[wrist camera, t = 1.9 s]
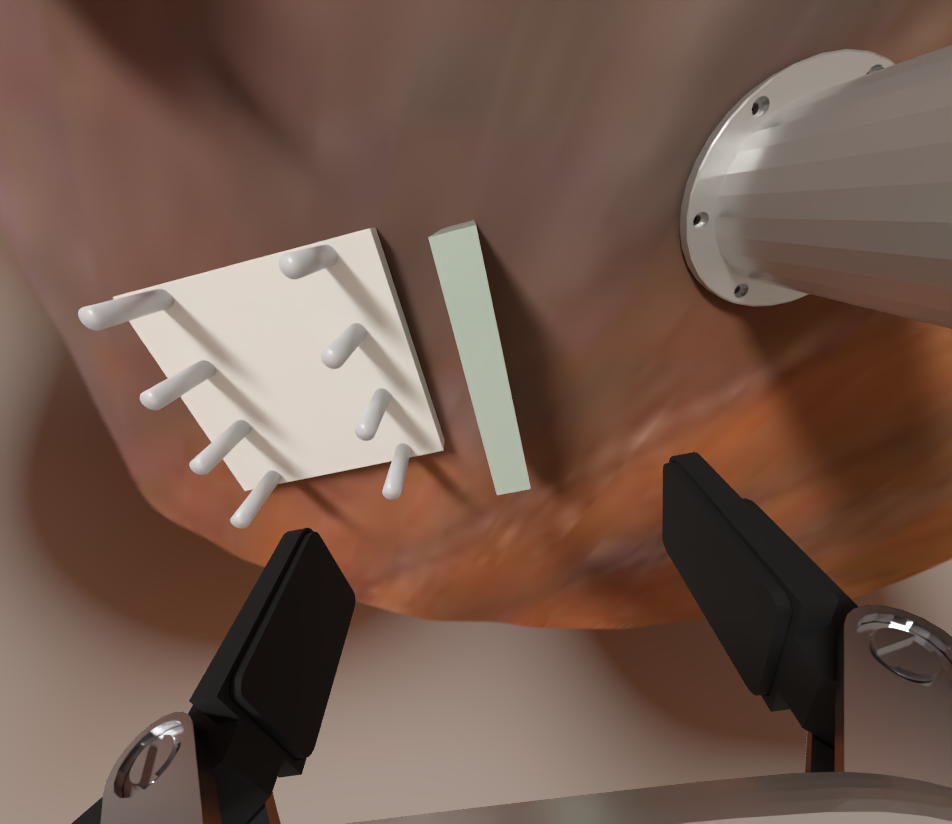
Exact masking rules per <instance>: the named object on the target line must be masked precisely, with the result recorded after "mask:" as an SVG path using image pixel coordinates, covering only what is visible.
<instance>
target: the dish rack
mask: <svg viewBox="0 0 952 824" xmlns="http://www.w3.org/2000/svg"><path fill="white" fill-rule="evenodd" d="M113 299H114V300H110V301H106V302H102V303H98V304H94V305H90V306H86V307H82V308H81V309H80V310H79V312H78V316H79V319H80V320H81V322H82V323H83V324H84V325H85V326H86V327H88V328H90V329H92V330H102V329H105V328H108V327H111V326H115V325H118V324H121V323H124V322H127V321H129V322H130V324H131V325H132V326H133V328H134V329H135V331H136V332H137V334H138V335H139V337H140V338H141V340H142V341H143V343H144V344H145V346H146V347H147V348H148V350H149V351H150V353H151V354H152V356H153V357H154V359H155V360H156V362H157V363H158V365H159V366H160V368H161V369H162V370H163V372H164V373H165V375H166V376H167V378H168V379H166V380H164V381H162V382H161V383H159V384H157V385H155V386H153V387H152V388H150V389H148V390H146V391H144V392H142V393H141V395H140V401H141V402H142V404H143V405H144V406H145V407H147V408H149V409H151V410H159V409H161V408H163V407H164V406H166V405H167V404H169V403H171V402H172V401H174V400H175V399H177V398H178V397H181V398H182V400H183V401H184V403H185V404H186V406H187V407H188V409H189V410H190V411H191V413H192V414H193V416H194V417H195V419H196V420H197V422H198V423H199V425H200V426H201V428H202V429H203V431H204V432H205V433H206V435H207V436H208V438H209V439H210V441H211V442H212V443H211V444H210V445H209V446H208V447H206V448H205V449H204V450H203V451H202V452H201V453H200V454H199V455H197V456H196V457H195V458H194V459H193V460H192V461H191V462H190V464H189V465H190V468H191V470H192V471H193V472H195V473H197V474H200V475H206V474H208V473H209V472H210V471H211V470H212V469H213V468H214V467H215V466H216V465H217V464H218V463H219V462H220V461H221V460H222V459H223V460H224V461H225V463H226V464H227V466H228V467H229V469H230V470H231V472H232V473H233V474H234V476H235V477H236V479H237V480H238V482H239V483H240V485H241V486H242V488H243V489H244V491H246V490H251V489H253V491H252V492H251V493H250V494H249V496H248V497H247V498H246V500H245V501H244V502H243V503H242V505H241V506H240V507H239V509H238V510H237V511H236V512H235V514H234V515H233V516H232V517H231V519H230V521H231V523H232V525H234V526H235V527H237V528H246V527H248V525H249V524H250V522H251V521H252V520H253V518H254V517H255V515H256V514H257V513H258V511H259V510H260V508H261V507H262V506H263V504H264V503H265V501H266V500H267V498H268V497H269V496H270V494H271V493H272V491H273V490H274V489H275V487H276V486H277V484H281V483H286V482H291V481H296V480H301V479H306V478H311V477H316V476H321V475H326V474H331V473H336V472H340V471H345V470H350V469H355V468H360V467H365V466H370V465H375V464H380V463H385V462H390V461H392V462H391V465H390V469H389V472H388V475H387V478H386V481H385V484H384V488H383V491H382V493H383V495H384V497H386V498H387V499H390V500H394V499H397V498H399V497H400V495H401V491H402V487H403V483H404V478H405V474H406V470H407V466H408V462H409V458H410V457H415V456H420V455H425V454H430V453H435V452H440V451H444V442H445V440H444V437H443V434H442V431H441V427H440V424H439V421H438V418H437V415H436V412H435V409H434V406H433V403H432V400H431V397H430V393H429V390H428V387H427V384H426V381H425V378H424V375H423V372H422V369H421V366H420V363H419V360H418V356H417V353H416V350H415V347H414V344H413V341H412V338H411V335H410V332H409V329H408V326H407V322H406V319H405V316H404V313H403V310H402V307H401V304H400V301H399V298H398V295H397V292H396V288H395V285H394V282H393V279H392V276H391V273H390V270H389V267H388V264H387V261H386V258H385V255H384V251H383V248H382V245H381V242H380V239H379V236H378V233H377V230H376V227H375V228H369V229H365V230H362V231H358V232H354V233H350V234H347V235H343V236H339V237H335V238H332V239H328V240H324V241H320V242H317V243H313V244H309V245H305V246H302V247H298V248H294V249H291V250H287V251H283V252H279V253H276V254H272V255H268V256H264V257H261V258H257V259H253V260H249V261H246V262H242V263H238V264H234V265H231V266H227V267H223V268H219V269H216V270H212V271H208V272H204V273H201V274H197V275H193V276H189V277H186V278H182V279H178V280H175V281H171V282H167V283H163V284H160V285H156V286H152V287H148V288H145V289H141V290H137V291H133V292H130V293H126V294H122V295H118V296H115V297H113Z"/></svg>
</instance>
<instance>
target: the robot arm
mask: <svg viewBox="0 0 952 824" xmlns="http://www.w3.org/2000/svg"><path fill="white" fill-rule="evenodd" d="M752 106H753V113H752ZM695 216H696V217H697V220H696V222H695V223H693V221H694V218H695ZM680 237H681V246H682V250H683V253H684V257H685V260H686V263H687V266H688V267H689V269H690V270H691V272H692V274H693V275H694V277H695V278H696V280H697V281H698V282H699V283H700V284H701V285H702V286H703V287H704V288H705V289H706V290H707V291H709V292H711V293H713V294H714V295H716V296H718V297H720V298H721V299H724V300H727V301H730V302H732V303H736V304H741V305H747V306H753V307H757V306H774V305H778V304H783V303H787V302H792V301H794V300H797V299H799V298H802V297H804V296H807V295H809V294H811V295H815V296H819V297H823V298H827V299H831V300H835V301H839V302H844V303H848V304H852V305H856V306H860V307H864V308H868V309H872V310H876V311H880V312H885V313H889V314H893V315H897V316H901V317H905V318H909V319H913V320H917V321H921V322H925V323H930V324H934V325H938V326H942V327H946V328H950V329H952V45H951V46H948V47H945V48H942V49H939V50H936V51H933V52H930V53H927V54H924V55H922V56H919V57H916V58H913V59H910V60H907V61H904V62H901V63H898V64H895V63H894V62H892V61H891V60H890V59H888V58H886V57H883V56H881V55H878V54H876V53H873V52H871V51H864V50H852V49H844V50H837V51H831V52H825V53H820V54H818V55H815V56H813V57H810V58H808V59H805V60H803V61H800V62H797V63H795V64H793V65H791V66H789V67H787V68H785V69H783V70H781V71H779V72H777V73H775V74H773V75H771V76H770V77H769V78H767V79H766V80H765V81H763V82H762V83H760V84H759V85H758V86H756V87H755V88H753V89H752V90H751V91H749V92H748V93H747V94H746V95H745V96H744V97H743V98H742V99H741V100H740V101H739V102H738V103H737V104H736V105H735V106H734V107H733V108H732V109H731V110H730V111H729V112H728V113H727V114H726V115H725V117H724V118H723V119H722V120H721V122H720V123H719V124H718V126H717V127H716V128H715V130H714V131H713V132H712V133H711V135H710V136H709V138H708V140H707V142H706V143H705V145H704V147H703V148H702V150H701V152H700V154H699V155H698V157H697V159H696V161H695V164H694V166H693V169H692V171H691V174H690V176H689V179H688V181H687V184H686V188H685V192H684V197H683V201H682V205H681V215H680ZM662 537H663V543H664V546H665V549H666V551H667V553H668V554H669V556H670V558H671V559H672V561H673V563H674V565H675V566H676V568H677V570H678V571H679V573H680V575H681V576H682V578H683V580H684V581H685V583H686V585H687V586H688V588H689V590H690V592H691V593H692V595H693V597H694V598H695V600H696V602H697V603H698V605H699V607H700V608H701V610H702V612H703V613H704V615H705V617H706V619H707V620H708V622H709V624H710V625H711V627H712V629H713V630H714V632H715V634H716V635H717V637H718V639H719V640H720V642H721V644H722V646H723V647H724V649H725V651H726V652H727V654H728V656H729V657H730V659H731V661H732V662H733V664H734V666H735V667H736V669H737V671H738V673H739V674H740V676H741V677H742V679H743V681H744V683H745V684H746V686H747V687H748V689H749V690H750V691H751V692H752V693H753V694H754V695H761V696H762V698H763V699H764V701H765V703H766V704H767V706H768V707H769V709H770V711H771V712H772V711H779V710H787V709H791V711H792V712H793V714H794V715H795V717H796V718H797V720H798V722H799V723H800V725H801V726H802V728H804V729H805V730H807V744H806V761H805V773H789V774H778V775H768V776H757V777H746V778H736V779H725V780H714V781H704V782H694V783H685V784H676V785H667V786H658V787H650V788H641V789H632V790H623V791H615V792H606V793H598V794H588V795H580V796H571V797H563V798H554V799H546V800H537V801H529V802H520V803H512V804H504V805H496V806H488V807H479V808H470V809H462V810H454V811H446V812H437V813H429V814H421V815H413V816H405V817H396V818H389V819H380V820H372V821H364V822H356V823H349V824H952V637H951V636H950V635H949V634H948V633H946V632H945V631H944V630H942V629H941V628H939V627H937V626H935V625H933V624H932V623H930V622H929V621H927V620H925V619H923V618H921V617H918V616H916V615H914V614H911V613H909V612H906V611H904V610H900V609H896V608H892V607H888V606H880V605H865V606H861V607H858V606H857V605H856V604H855V603H854V602H853V601H852V600H851V599H850V598H849V597H848V596H847V595H846V594H845V593H844V592H843V591H842V590H841V589H840V588H839V587H838V586H837V585H836V584H835V583H834V582H833V581H832V580H831V579H830V578H829V577H828V576H827V575H826V574H825V573H824V572H823V571H822V570H821V569H820V568H819V567H818V566H817V565H816V564H815V563H814V562H813V561H812V560H811V559H810V558H809V557H808V556H807V555H806V554H805V553H804V552H803V551H802V550H801V549H800V548H799V547H798V546H797V545H796V544H795V543H794V542H793V541H792V540H791V539H790V538H789V537H788V536H787V535H786V534H785V533H784V532H783V531H782V530H781V529H780V528H779V527H778V526H777V525H776V524H775V523H774V522H773V521H772V520H771V519H770V518H769V517H768V516H767V515H766V514H765V513H764V512H763V511H762V510H761V509H760V508H759V507H758V506H757V505H756V504H755V503H754V502H752V501H751V500H749V499H742V498H741V497H740V496H739V495H738V494H737V493H736V492H735V491H734V490H733V489H732V488H731V487H730V486H729V485H728V484H727V483H726V482H725V481H724V480H723V479H722V478H721V476H720V475H719V474H718V473H717V472H716V471H715V470H714V469H713V468H712V467H711V466H710V465H709V464H708V463H707V462H706V461H705V460H704V459H703V458H702V457H701V456H700V455H699V454H698V453H696V452H692V453H687V454H682V455H677V456H672V457H671V458H670V460H669V463H666V464H664V466H663V534H662ZM354 607H355V594H354V592H353V590H352V588H351V587H350V585H349V583H348V582H347V580H346V578H345V577H344V575H343V573H342V572H341V570H340V568H339V567H338V565H337V563H336V562H335V560H334V558H333V557H332V555H331V553H330V552H329V550H328V548H327V547H326V545H325V543H324V542H323V540H322V538H321V537H320V535H319V534H318V533H317V532H313V531H312V529H310V528H304V529H299V530H294V531H288V532H287V533H285V534H284V535H283V537H282V539H281V540H280V542H279V544H278V546H277V547H276V549H275V551H274V553H273V554H272V556H271V558H270V560H269V561H268V563H267V565H266V567H265V568H264V570H263V572H262V574H261V576H260V577H259V579H258V581H257V583H256V584H255V586H254V588H253V590H252V591H251V593H250V595H249V597H248V598H247V600H246V602H245V604H244V606H243V607H242V609H241V611H240V612H239V614H238V616H237V618H236V620H235V621H234V623H233V625H232V627H231V628H230V630H229V632H228V634H227V635H226V637H225V639H224V641H223V642H222V644H221V646H220V648H219V649H218V651H217V653H216V655H215V656H214V658H213V660H212V662H211V663H210V665H209V667H208V669H207V671H206V672H205V674H204V676H203V677H202V679H201V681H200V683H199V684H198V686H197V688H196V690H195V691H194V693H193V695H192V697H191V699H190V700H189V701H190V702H191V703H192V704H193V706H192V708H191V709H190V711H189V713H188V714H187V713H185V712H173V713H171V714H168V715H165V716H163V717H161V718H160V719H158V720H156V721H155V722H153V723H152V724H150V725H149V726H148V727H147V728H146V729H145V730H143V731H142V732H141V733H140V734H139V735H138V736H137V737H136V738H135V739H134V740H133V741H132V742H131V743H130V744H129V746H128V747H127V748H126V749H125V750H124V751H123V753H122V754H121V756H120V757H119V759H118V760H117V762H116V763H115V765H114V766H113V768H112V771H111V772H110V775H109V777H108V779H107V781H106V785H105V789H104V793H103V797H102V798H101V799H100V800H98V801H97V802H96V803H95V804H94V805H93V806H91V807H90V808H89V809H88V810H87V811H86V812H84V813H83V814H82V815H81V816H80V817H79V818H77V819H76V820H75V821H74V822H73V823H72V824H281V823H280V819H279V816H278V812H277V808H276V804H275V800H274V796H273V792H272V791H273V788H274V785H275V782H276V779H277V776H278V777H285V776H294V775H301V774H302V771H303V768H304V765H305V761H306V758H307V757H309V756H310V755H311V754H312V751H313V750H314V747H315V744H316V741H317V737H318V733H319V730H320V727H321V723H322V719H323V716H324V712H325V709H326V706H327V702H328V699H329V695H330V691H331V688H332V684H333V681H334V678H335V674H336V671H337V667H338V664H339V660H340V656H341V653H342V649H343V646H344V642H345V639H346V635H347V632H348V628H349V625H350V621H351V617H352V614H353V611H354Z"/></svg>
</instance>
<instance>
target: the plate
mask: <svg viewBox="0 0 952 824" xmlns="http://www.w3.org/2000/svg"><path fill="white" fill-rule="evenodd" d="M428 238H429V242H430V246H431V249H432V253H433V257H434V261H435V264H436V268H437V272H438V276H439V279H440V283H441V287H442V291H443V294H444V298H445V302H446V306H447V309H448V313H449V317H450V321H451V324H452V328H453V332H454V336H455V339H456V343H457V347H458V351H459V354H460V358H461V362H462V366H463V369H464V373H465V377H466V381H467V384H468V388H469V392H470V396H471V400H472V403H473V407H474V411H475V415H476V418H477V422H478V426H479V430H480V433H481V437H482V441H483V445H484V448H485V452H486V456H487V460H488V463H489V467H490V471H491V475H492V478H493V482H494V486H495V490H496V493H497V495H501V494H506V493H511V492H517V491H522V490H527V489H531V487H530V482H529V478H528V473H527V468H526V463H525V458H524V453H523V449H522V444H521V439H520V434H519V429H518V425H517V420H516V415H515V410H514V405H513V400H512V396H511V391H510V386H509V381H508V376H507V372H506V367H505V362H504V357H503V352H502V347H501V343H500V338H499V333H498V328H497V323H496V319H495V314H494V309H493V304H492V299H491V294H490V290H489V285H488V280H487V275H486V270H485V266H484V261H483V256H482V251H481V246H480V241H479V237H478V232H477V227H476V224H475V221H474V220H473V221H469V222H466V223H462V224H458V225H454V226H450V227H447V228H443V229H441V230H440V231H438V232H436V233H435V234H433V235H431V236H430V237H428Z"/></svg>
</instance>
